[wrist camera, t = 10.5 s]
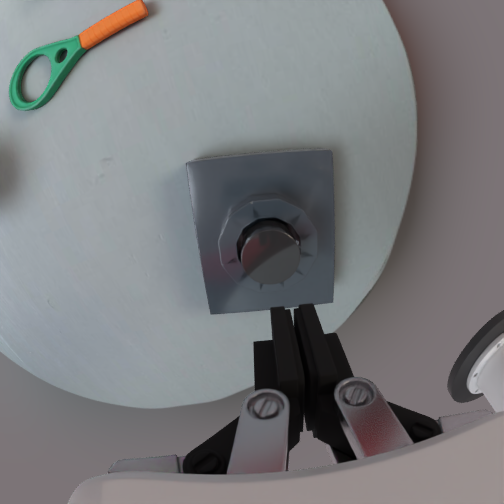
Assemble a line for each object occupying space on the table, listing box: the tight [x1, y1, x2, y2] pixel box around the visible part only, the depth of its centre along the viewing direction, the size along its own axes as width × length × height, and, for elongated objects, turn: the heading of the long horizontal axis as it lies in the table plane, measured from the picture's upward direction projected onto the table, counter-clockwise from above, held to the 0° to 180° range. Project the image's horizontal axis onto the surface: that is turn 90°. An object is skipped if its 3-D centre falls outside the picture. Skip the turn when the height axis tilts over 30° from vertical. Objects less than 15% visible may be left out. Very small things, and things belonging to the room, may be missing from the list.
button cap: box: [241, 220, 300, 285], centre depth 19 cm, size 4×4×2 cm
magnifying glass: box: [9, 0, 148, 111], centre depth 17 cm, size 15×6×2 cm, turn 110°
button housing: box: [186, 148, 335, 314], centre depth 22 cm, size 10×12×5 cm
